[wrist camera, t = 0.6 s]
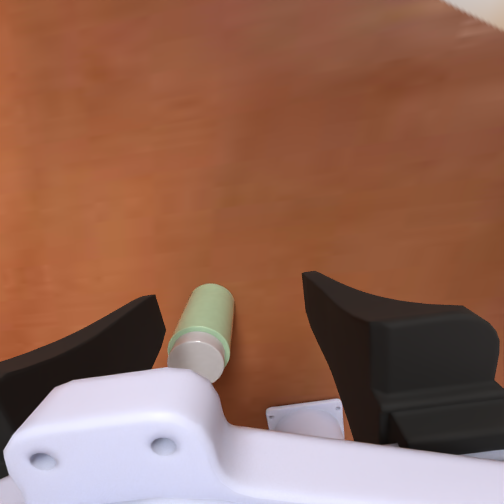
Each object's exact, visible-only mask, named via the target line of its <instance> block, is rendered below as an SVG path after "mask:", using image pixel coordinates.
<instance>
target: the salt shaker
mask: <svg viewBox="0 0 504 504" xmlns="http://www.w3.org/2000/svg"><path fill="white" fill-rule="evenodd" d="M234 309H235V302H234V298H233V296H232V294H231V293H230V292H229V291H228V290H227V289H226V288H224V287H222V286H220V285H217V284H205V285H201V286H199V287H197V288H196V289H195V290H194V291H193V292H192V293H191V295H190V297H189V299H188V301H187V304H186V306H185V308H184V310H183V313H182V315H181V317H180V319H179V322H178V324H177V326H176V328H175V330H174V333H173V335H172V337H171V339H170V342H169V344H168V360H167V364H168V368H181V369H190V370H192V371H194V372H196V373H198V374H199V375H201V376H203V377H205V378H207V379H209V381H210V382H211V384H212V383H213V382H215V381H216V380H217V379H218V378H219V377H220V376H221V374H222V373H223V370H224V367H225V366H226V365H227V363H228V361H229V358H230V351H231V340H232V330H233V320H234Z"/></svg>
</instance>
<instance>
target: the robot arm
mask: <svg viewBox="0 0 504 504" xmlns="http://www.w3.org/2000/svg"><path fill="white" fill-rule="evenodd" d="M302 280H303V289H304V299H305V309H306V313H307V316H308V320H309V323H310V326H311V329H312V331H313V333H314V335H315V337H316V339H317V342H318V344H319V346H320V348H321V350H322V352H323V354H324V356H325V359H326V361H327V363H328V365H329V367H330V370H331V372H332V375H333V378H334V381H335V383H336V386H337V389H338V392H339V395H340V398H341V400H340V399H329V400H322V401H314V402H307V403H299V404H292V405H284V406H277V407H270V408H267V409H266V417H267V422H268V427H269V430H266V429H259V428H251V427H244V426H237V425H232V424H230V423H228V422H227V420H226V418H225V416H224V414H223V410H222V406H221V402H220V398H219V395H218V393H217V392H216V390H215V389H214V387H213V385H212V384H211V382H210V381H209V379H207V378H205V377H203V376H201V375H199V374H198V373H196V372H194V371H192V370H190V369H181V368H168V367H166V368H158V369H151V368H152V366H153V364H154V362H155V360H156V358H157V355H158V353H159V351H160V349H161V346H162V343H163V339H164V335H165V332H166V328H165V325H164V322H163V319H162V315H161V312H160V309H159V306H158V302H157V299H156V296H155V295H148V296H142V297H140V298H137V299H135V300H133V301H131V302H130V303H128V304H126V305H124V306H123V307H121V308H119V309H117V310H116V311H114V312H112V313H110V314H109V315H107V316H105V317H103V318H102V319H100V320H98V321H96V322H94V323H93V324H91V325H89V326H87V327H85V328H83V329H81V330H79V331H77V332H75V333H73V334H71V335H69V336H67V337H65V338H62V339H60V340H58V341H56V342H53V343H51V344H48V345H46V346H43V347H41V348H38V349H36V350H33V351H31V352H28V353H25V354H22V355H20V356H17V357H14V358H11V359H8V360H5V361H2V362H0V504H504V388H502V387H501V386H500V385H499V384H498V383H497V382H496V381H494V378H495V373H496V367H497V362H498V356H499V338H498V335H497V332H496V330H495V329H494V328H493V327H492V326H491V325H490V323H488V322H487V321H485V320H484V319H482V318H481V317H479V316H478V315H476V314H475V313H473V312H472V311H470V310H469V309H467V308H466V307H464V306H458V305H435V304H422V303H413V302H406V301H399V300H394V299H389V298H384V297H380V296H375V295H372V294H369V293H365V292H362V291H359V290H356V289H354V288H351V287H349V286H346V285H344V284H341V283H339V282H337V281H335V280H333V279H331V278H329V277H327V276H325V275H323V274H321V273H319V272H316V271H311V272H304V273H302ZM341 401H342V402H341ZM342 404H343V407H344V410H345V413H346V416H347V419H348V422H349V426H350V429H351V432H352V435H353V438H354V441H349V440H344V426H343V411H342Z"/></svg>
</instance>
